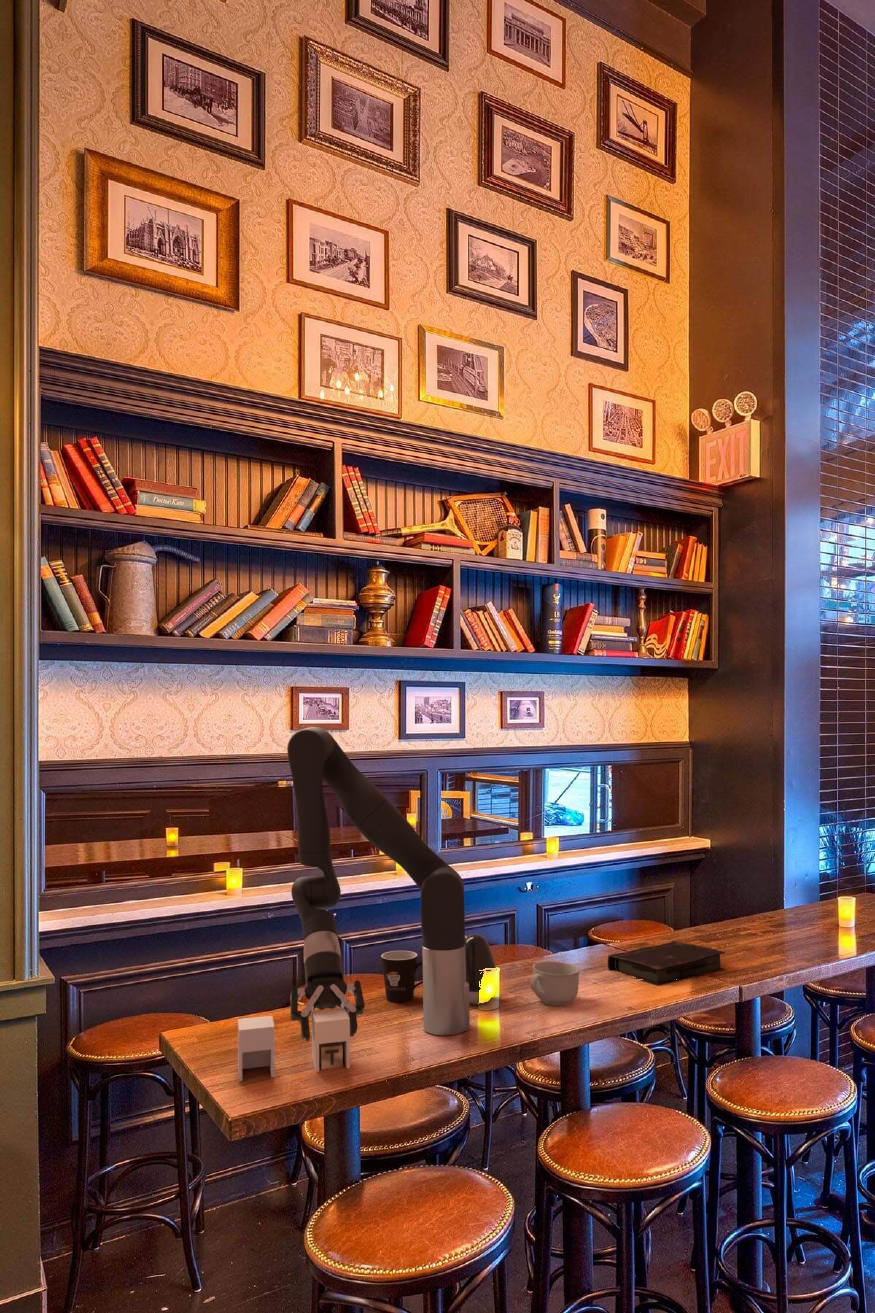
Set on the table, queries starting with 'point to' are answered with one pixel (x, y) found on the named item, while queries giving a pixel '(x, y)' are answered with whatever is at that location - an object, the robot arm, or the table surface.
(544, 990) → the teacup
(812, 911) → the table surface
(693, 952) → the diary
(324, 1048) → the letter cube
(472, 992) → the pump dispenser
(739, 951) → the table surface
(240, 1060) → the grey cover
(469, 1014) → the robot arm
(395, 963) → the coffee mug
